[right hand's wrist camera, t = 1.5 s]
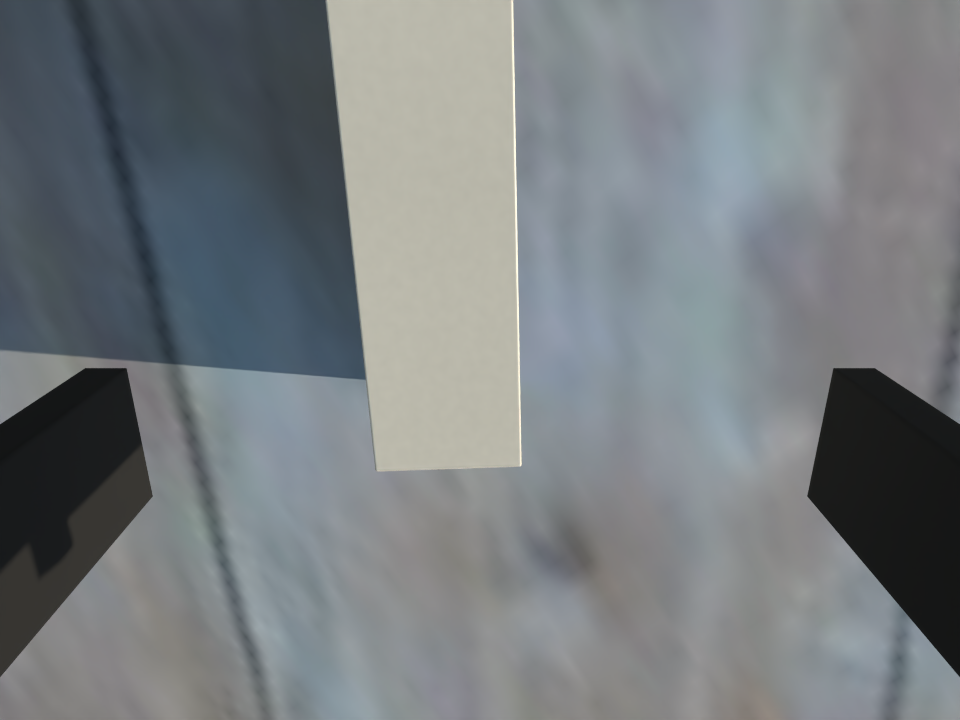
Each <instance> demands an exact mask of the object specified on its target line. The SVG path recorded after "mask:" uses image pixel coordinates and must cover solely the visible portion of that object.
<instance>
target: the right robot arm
mask: <svg viewBox="0 0 960 720" xmlns="http://www.w3.org/2000/svg"><path fill="white" fill-rule="evenodd" d="M151 498H152V491H151V486H150V481H149V476H148V471H147V466H146V461H145V457H144V452H143V447H142V442H141V437H140V432H139V427H138V422H137V417H136V413H135V408H134V403H133V398H132V393H131V388H130V383H129V378H128V373H127V368H85V369H83V370H82V371H80V372H79V373H77V374H76V375H74V376H73V377H71V378H70V379H68V380H67V381H65V382H64V383H62V384H61V385H59V386H58V387H56V388H55V389H53V390H52V391H50V392H49V393H47V394H46V395H44V396H42V397H41V398H39V399H38V400H36V401H35V402H33V403H32V404H30V405H29V406H27V407H26V408H24V409H23V410H21V411H20V412H18V413H17V414H15V415H14V416H12V417H11V418H9V419H8V420H6V421H5V422H3V423H2V424H0V677H1V675H2V674H3V673H4V672H5V671H6V669H7V668H8V667H9V666H10V665H11V664H12V662H13V661H14V660H15V659H16V658H17V656H18V655H19V654H20V653H21V652H22V651H23V649H24V648H25V647H26V646H27V645H28V643H29V642H30V641H31V640H32V639H33V637H34V636H35V635H36V634H37V633H38V632H39V630H40V629H41V628H42V627H43V626H44V624H45V623H46V622H47V621H48V620H49V619H50V617H51V616H52V615H53V614H54V613H55V611H56V610H57V609H58V608H59V607H60V605H61V604H62V603H63V602H64V601H65V600H66V598H67V597H68V596H69V595H70V594H71V592H72V591H73V590H74V589H75V588H76V587H77V585H78V584H79V583H80V582H81V581H82V579H83V578H84V577H85V576H86V575H87V573H88V572H89V571H90V570H91V569H92V568H93V566H94V565H95V564H96V563H97V562H98V560H99V559H100V558H101V557H102V556H103V555H104V553H105V552H106V551H107V550H108V549H109V547H110V546H111V545H112V544H113V543H114V541H115V540H116V539H117V538H118V537H119V536H120V534H121V533H122V532H123V531H124V530H125V528H126V527H127V526H128V525H129V524H130V522H131V521H132V520H133V519H134V518H135V517H136V515H137V514H138V513H139V512H140V511H141V509H142V508H143V507H144V506H145V505H146V504H147V502H148V501H149V500H150V499H151ZM808 498H809V499H810V500H811V501H812V502H813V504H814V505H815V506H816V507H817V508H818V509H819V511H820V512H821V513H822V514H823V515H824V517H825V518H826V519H827V520H828V521H829V522H830V524H831V525H832V526H833V527H834V528H835V530H836V531H837V532H838V533H839V534H840V536H841V537H842V538H843V539H844V540H845V541H846V543H847V544H848V545H849V546H850V547H851V549H852V550H853V551H854V552H855V553H856V555H857V556H858V557H859V558H860V559H861V560H862V562H863V563H864V564H865V565H866V566H867V568H868V569H869V570H870V571H871V572H872V573H873V575H874V576H875V577H876V578H877V579H878V581H879V582H880V583H881V584H882V585H883V587H884V588H885V589H886V590H887V591H888V592H889V594H890V595H891V596H892V597H893V598H894V600H895V601H896V602H897V603H898V604H899V605H900V607H901V608H902V609H903V610H904V611H905V613H906V614H907V615H908V616H909V617H910V619H911V620H912V621H913V622H914V623H915V624H916V626H917V627H918V628H919V629H920V630H921V632H922V633H923V634H924V635H925V636H926V637H927V639H928V640H929V641H930V642H931V643H932V645H933V646H934V647H935V648H936V649H937V651H938V652H939V653H940V654H941V655H942V656H943V658H944V659H945V660H946V661H947V662H948V664H949V665H950V666H951V667H952V668H953V669H954V671H955V672H956V673H957V674H958V675H959V677H960V424H958V423H957V422H955V421H954V420H952V419H951V418H949V417H948V416H946V415H945V414H943V413H942V412H940V411H939V410H937V409H936V408H934V407H933V406H931V405H930V404H928V403H927V402H925V401H924V400H922V399H921V398H919V397H918V396H916V395H914V394H913V393H911V392H910V391H908V390H907V389H905V388H904V387H902V386H901V385H899V384H898V383H896V382H895V381H893V380H892V379H890V378H889V377H887V376H886V375H884V374H883V373H881V372H880V371H878V370H877V369H875V368H833V373H832V378H831V383H830V388H829V393H828V398H827V403H826V408H825V413H824V417H823V422H822V427H821V432H820V437H819V442H818V447H817V452H816V457H815V461H814V466H813V471H812V476H811V481H810V486H809V491H808Z"/></svg>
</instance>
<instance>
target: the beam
mask: <svg viewBox="0 0 960 720" xmlns="http://www.w3.org/2000/svg"><path fill="white" fill-rule="evenodd" d="M325 3H326V12H327V21H328V31H329V40H330V49H331V59H332V68H333V78H334V87H335V96H336V106H337V115H338V124H339V134H340V143H341V152H342V162H343V171H344V180H345V190H346V199H347V208H348V218H349V227H350V237H351V246H352V255H353V265H354V274H355V283H356V293H357V302H358V311H359V321H360V330H361V339H362V349H363V358H364V368H365V377H366V386H367V396H368V405H369V414H370V424H371V433H372V442H373V452H374V461H375V470H376V471H404V470H433V469H462V468H491V467H520V466H521V416H520V361H519V306H518V251H517V195H516V140H515V85H514V30H513V0H325Z"/></svg>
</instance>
